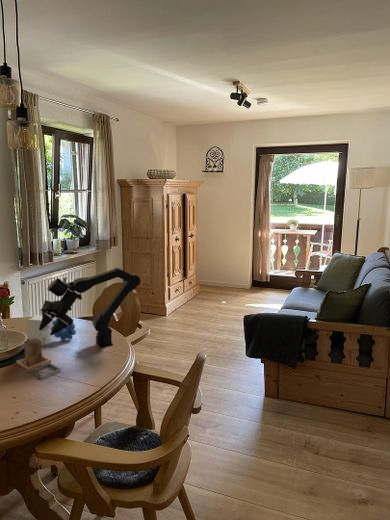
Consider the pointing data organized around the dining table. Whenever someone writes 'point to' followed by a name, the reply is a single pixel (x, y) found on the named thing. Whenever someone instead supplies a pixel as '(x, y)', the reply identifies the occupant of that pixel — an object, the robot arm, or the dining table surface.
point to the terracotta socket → (33, 365)
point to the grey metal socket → (47, 373)
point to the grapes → (64, 332)
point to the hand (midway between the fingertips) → (45, 332)
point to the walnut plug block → (33, 352)
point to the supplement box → (35, 332)
